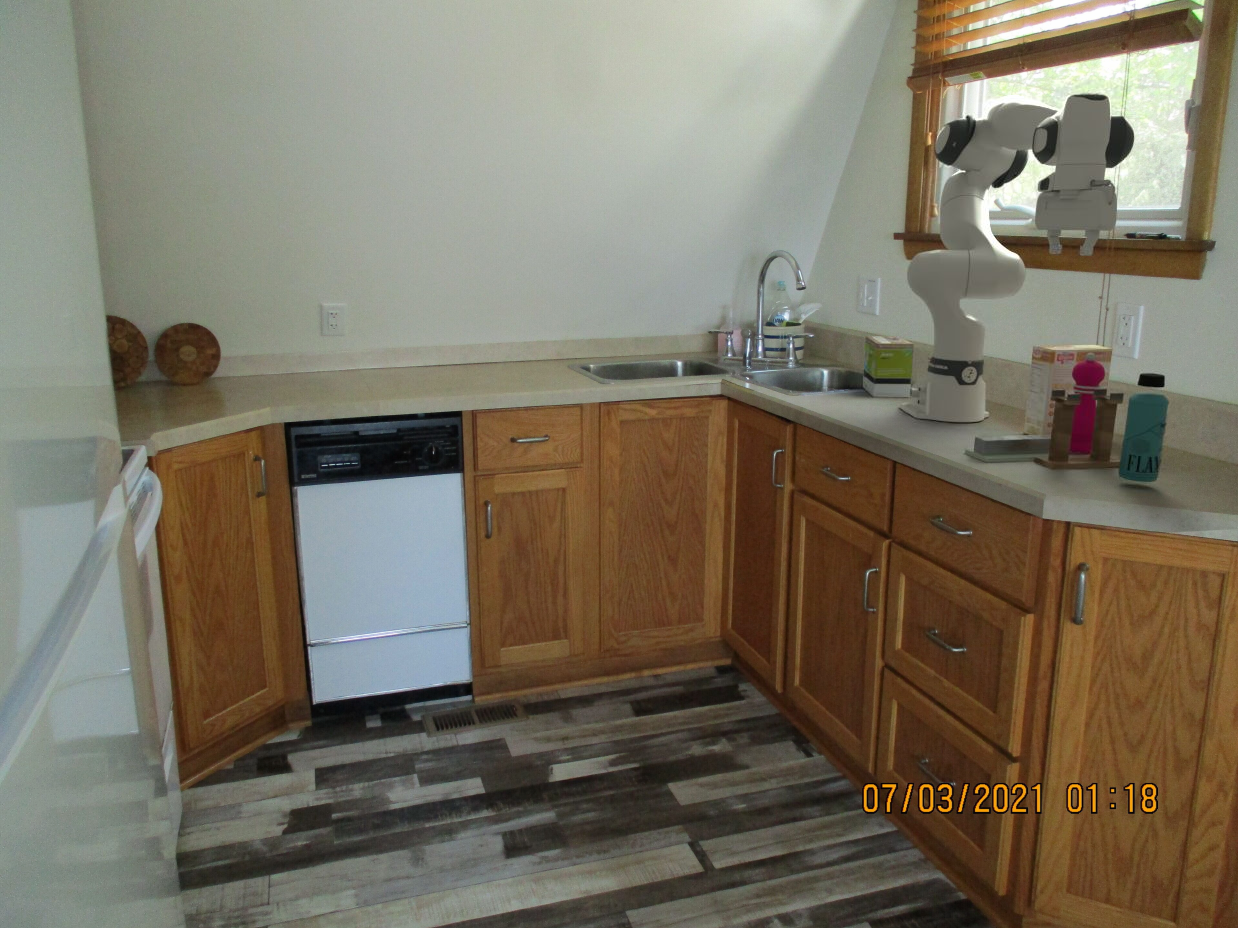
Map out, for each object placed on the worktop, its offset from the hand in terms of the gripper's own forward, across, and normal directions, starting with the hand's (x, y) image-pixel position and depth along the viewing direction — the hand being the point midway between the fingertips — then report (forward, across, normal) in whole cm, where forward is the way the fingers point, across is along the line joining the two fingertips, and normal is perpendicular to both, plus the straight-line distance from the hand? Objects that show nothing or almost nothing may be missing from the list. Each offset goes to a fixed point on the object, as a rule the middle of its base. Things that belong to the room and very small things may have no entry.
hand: (1070, 254), depth 192 cm
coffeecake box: (+39, +12, -12) cm, 43 cm away
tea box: (+39, +69, +2) cm, 80 cm away
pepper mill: (+39, -2, -6) cm, 40 cm away
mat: (+39, -5, +11) cm, 41 cm away
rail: (+38, -5, +11) cm, 40 cm away
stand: (+39, -13, +2) cm, 41 cm away
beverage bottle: (+39, -29, +2) cm, 49 cm away
